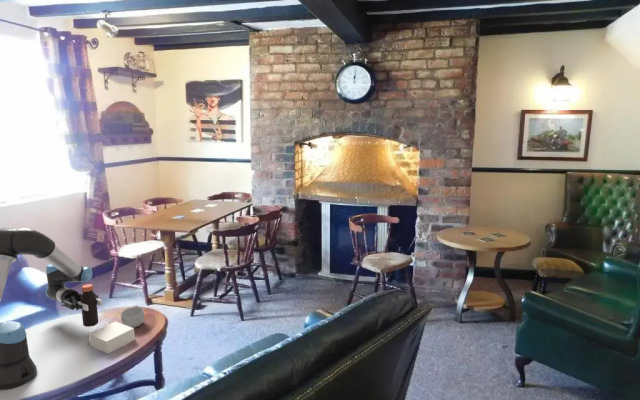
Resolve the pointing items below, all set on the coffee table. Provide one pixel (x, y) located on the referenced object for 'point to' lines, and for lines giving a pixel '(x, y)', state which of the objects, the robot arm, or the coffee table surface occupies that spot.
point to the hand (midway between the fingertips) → (94, 305)
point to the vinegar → (89, 306)
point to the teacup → (132, 316)
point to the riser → (111, 337)
